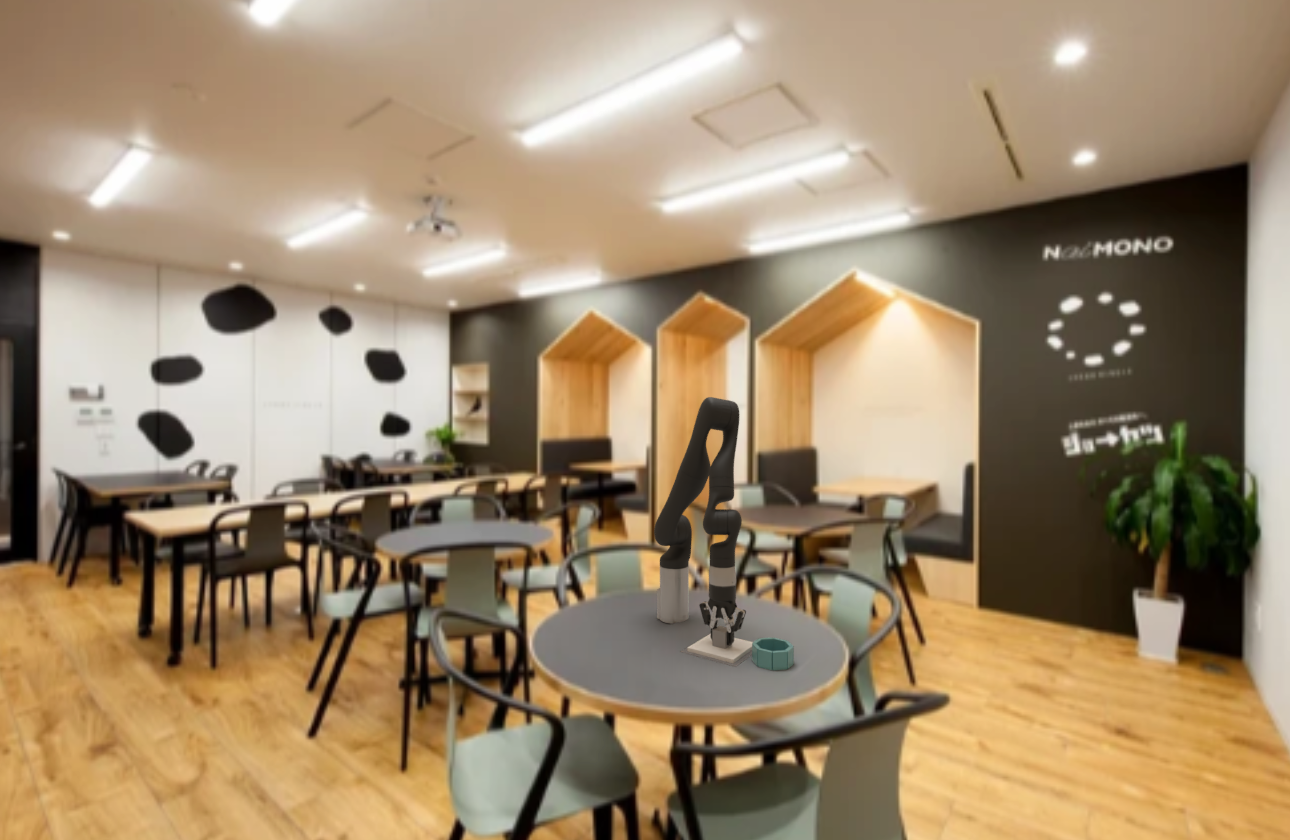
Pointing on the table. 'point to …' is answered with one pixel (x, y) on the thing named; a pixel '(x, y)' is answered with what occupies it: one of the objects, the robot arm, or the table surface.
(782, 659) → the bowl
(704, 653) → the lid
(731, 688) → the table surface
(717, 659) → the mat
